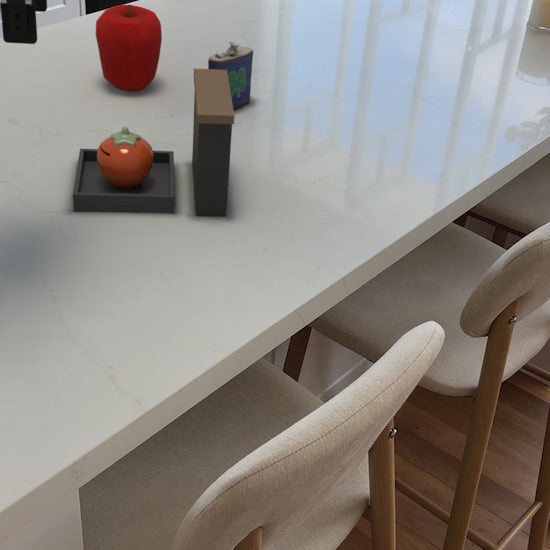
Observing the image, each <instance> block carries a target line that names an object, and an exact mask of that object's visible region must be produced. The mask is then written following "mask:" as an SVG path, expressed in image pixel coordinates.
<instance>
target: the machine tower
mask: <svg viewBox="0 0 550 550" xmlns="http://www.w3.org/2000/svg"><path fill="white" fill-rule="evenodd" d="M193 84H194V85H193V86H194V87H193V88H194V98H193V99H194V100H193V101H194V102H193V126H192V127H193V129H192V153H191V155H192V156H191V166H192V167H191V168H192V169H191V170H192V186H193V202H194V203H193V204H194V216H196V217H227V213H228V211H227V210H228V195H229V179H230V163H231V149H232V147H231V146H232V135H233V134H232V131H233V125H234V124H235V112H234V110H233V104H232V98H231V91H230V85H229V79H228V73H227V70H216V69H208V68H193Z"/></svg>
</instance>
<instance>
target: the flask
mask: <svg viewBox="0 0 550 550" xmlns="http://www.w3.org/2000/svg"><path fill="white" fill-rule="evenodd" d="M228 43H229V45H230V46H229V47H228V48H227V49H226V51H225V52H221V53H218V52H215V54H213V55H210V56H209V57H208V60H207V65H208V66H207V67H208V68H207V69H216V70H227V73H228V79H229V85H230V91H231V98H232V104H233V110H234V111H236V110H239V109H241V108H243V107H245V106H248V104H249V103H250V101H251V90H252V89H251V87H252V74H253V73H252V72H253V58H254V49H253V48H252V47H248V46H241V44H240V45H239V44H237V43H235V42H234V41H228Z"/></svg>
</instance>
